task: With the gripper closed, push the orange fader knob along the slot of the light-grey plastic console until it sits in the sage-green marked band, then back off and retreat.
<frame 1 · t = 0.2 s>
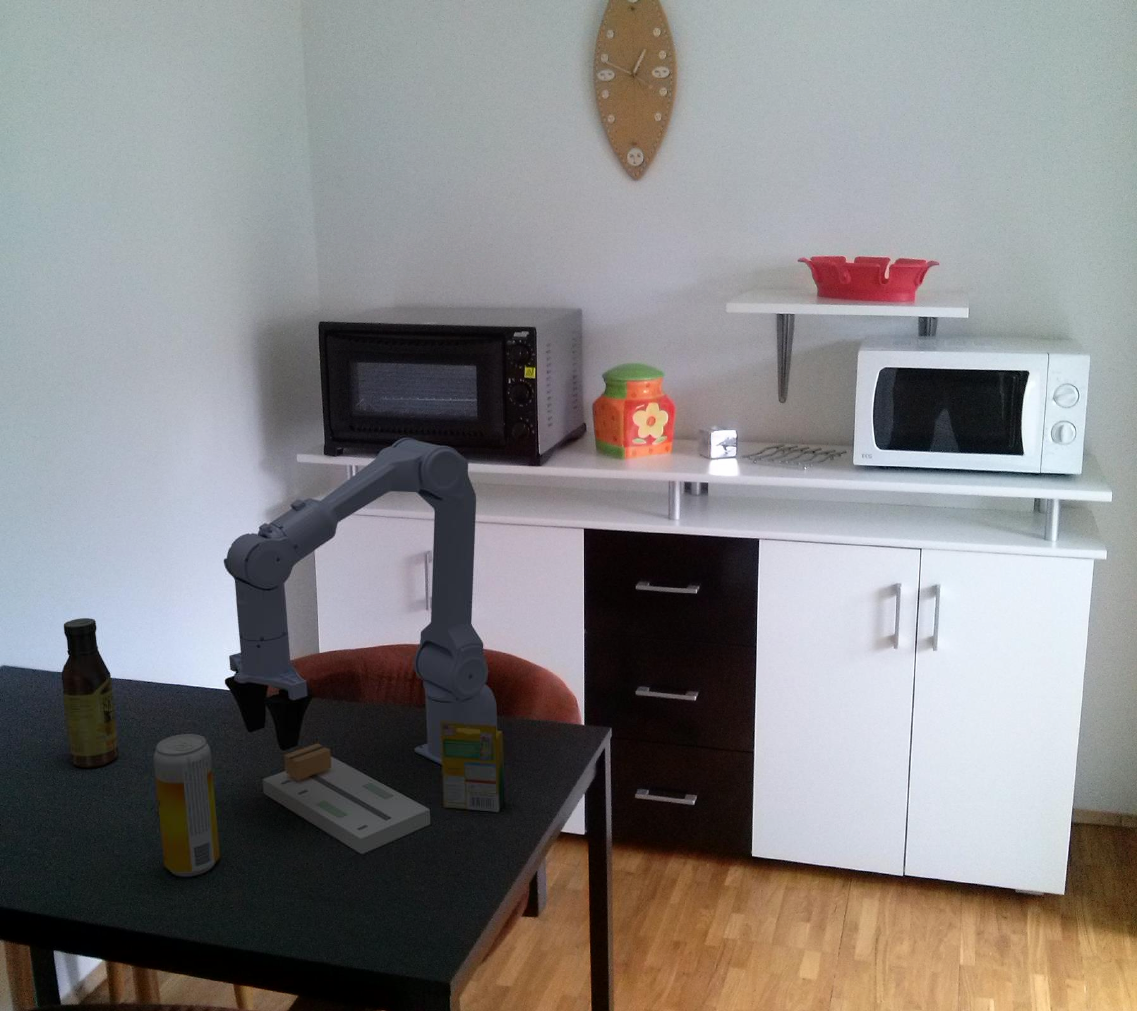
hand: (272, 738, 146), 10 cm above the table, tool pointing down, fingers open, 7 cm apart
fader console: (344, 808, 149), on the table
crayon box: (474, 806, 150), on the table
beer can: (192, 866, 136), on the table
sauce bottle: (95, 760, 164), on the table
fader knob: (308, 761, 154), point 4 cm above the table, slide at 0.0 cm
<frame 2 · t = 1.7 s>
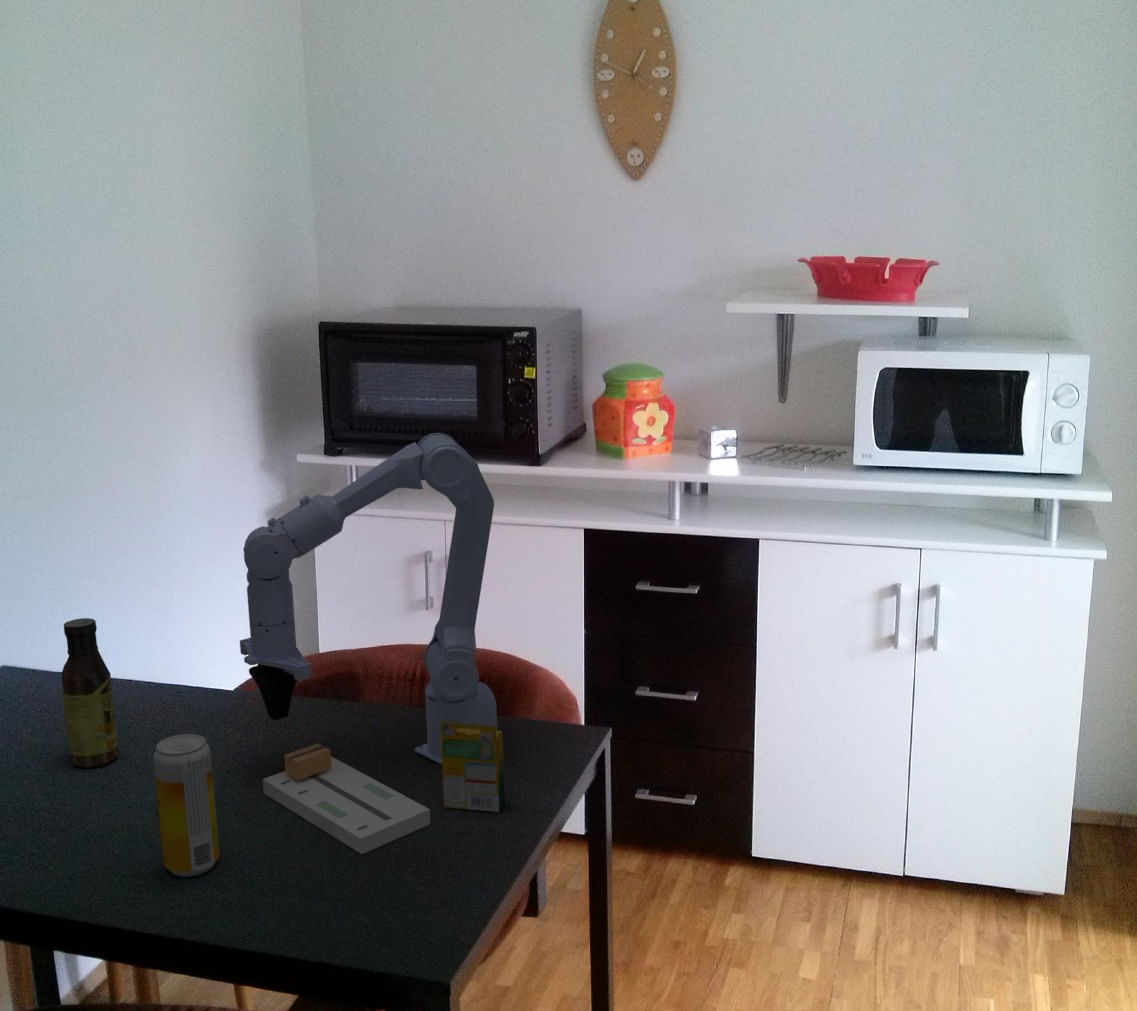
hand: (278, 717, 158), 8 cm above the table, tool pointing down, fingers closed
nothing on the table moved.
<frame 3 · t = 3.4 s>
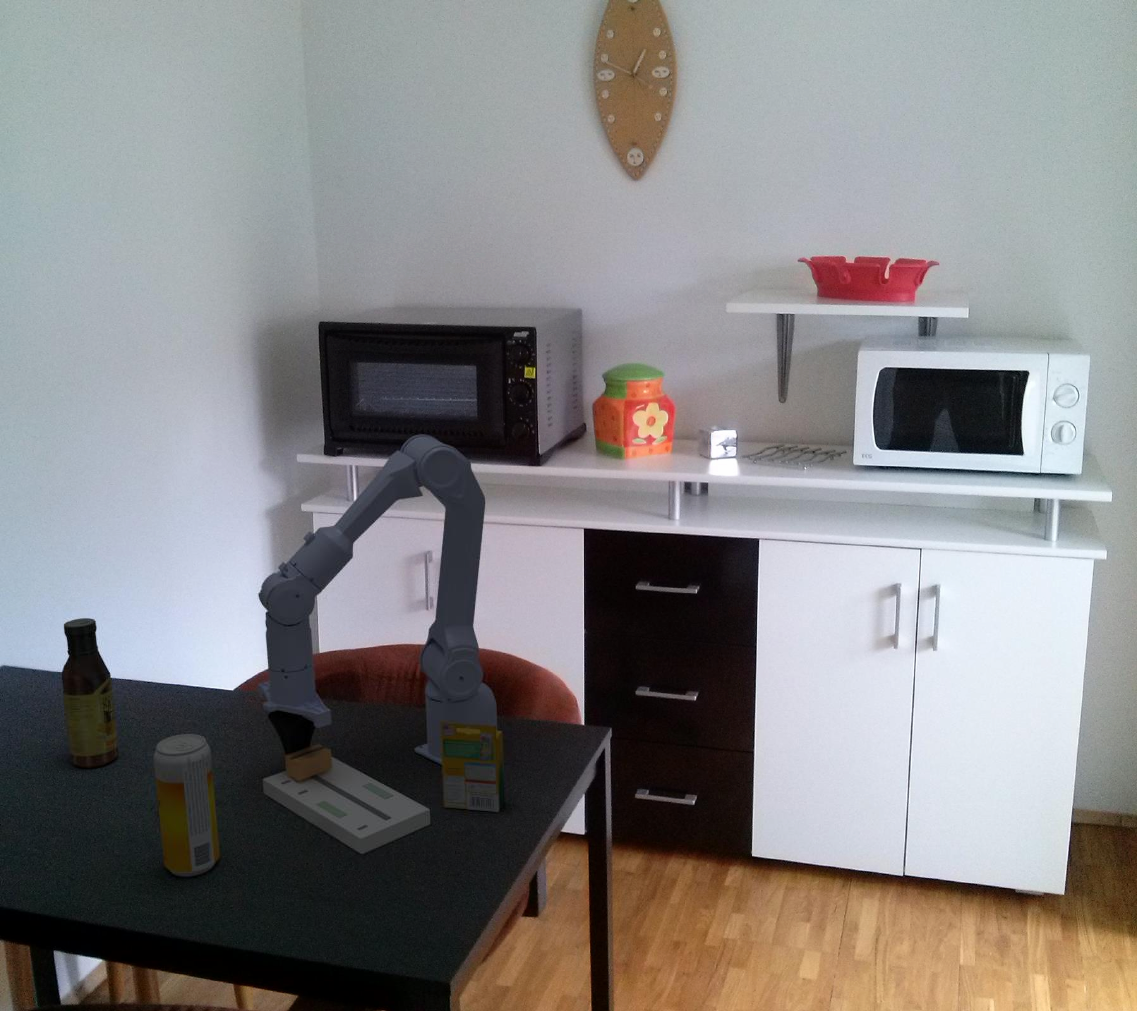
hand: (297, 762, 156), 3 cm above the table, tool pointing down, fingers closed
fader knob: (308, 761, 154), point 4 cm above the table, slide at 0.2 cm, touching gripper
everything else where it was.
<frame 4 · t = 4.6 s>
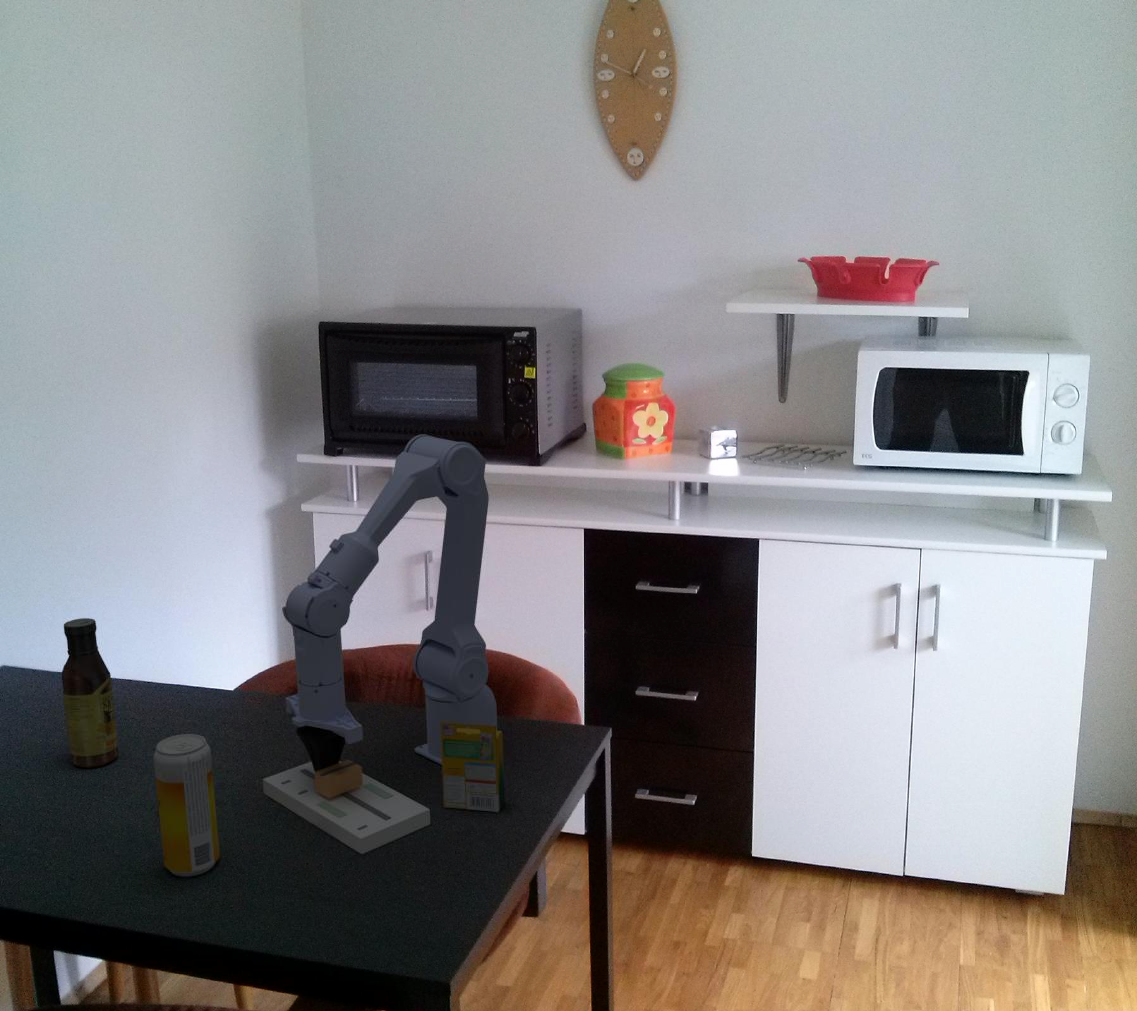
hand: (327, 778, 151), 3 cm above the table, tool pointing down, fingers closed
fader knob: (338, 778, 149), point 4 cm above the table, slide at 7.1 cm, touching gripper
everything else where it was.
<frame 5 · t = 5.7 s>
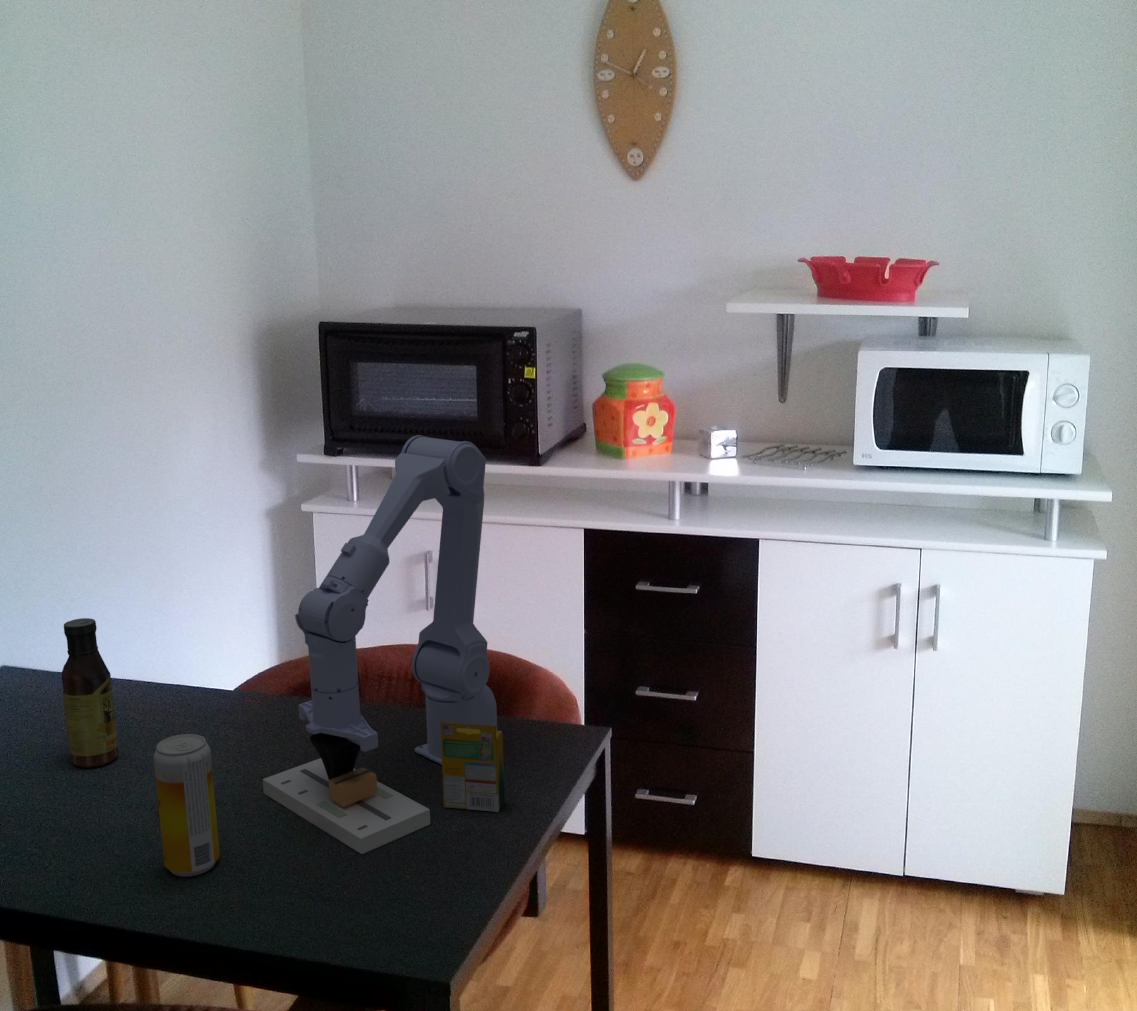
hand: (341, 786, 149), 3 cm above the table, tool pointing down, fingers closed
fader knob: (353, 786, 147), point 4 cm above the table, slide at 10.3 cm, touching gripper
everything else where it was.
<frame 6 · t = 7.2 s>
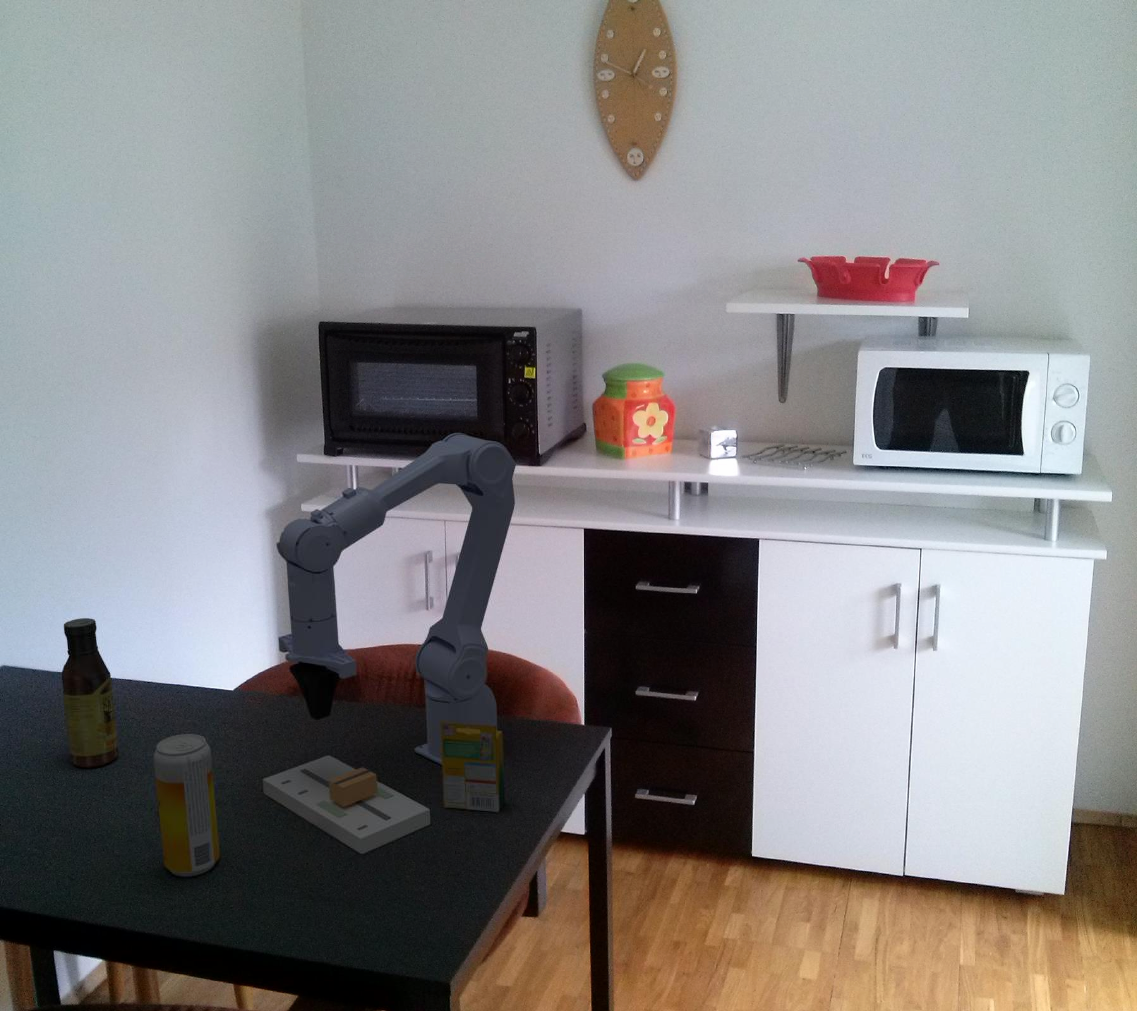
hand: (320, 716, 152), 10 cm above the table, tool pointing down, fingers closed
fader knob: (353, 786, 147), point 4 cm above the table, slide at 10.3 cm
everything else where it was.
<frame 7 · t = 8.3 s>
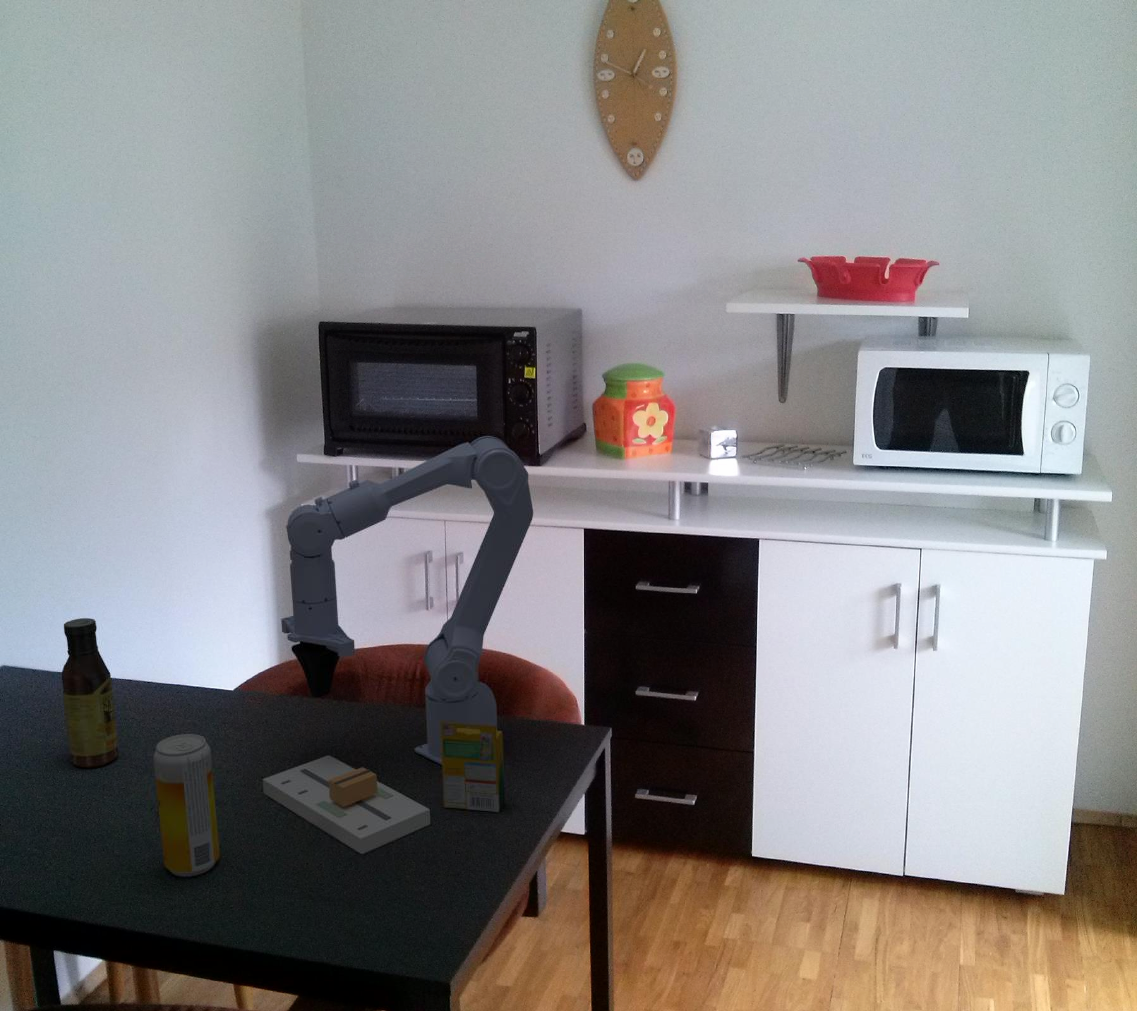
hand: (320, 694, 159), 10 cm above the table, tool pointing down, fingers closed
nothing on the table moved.
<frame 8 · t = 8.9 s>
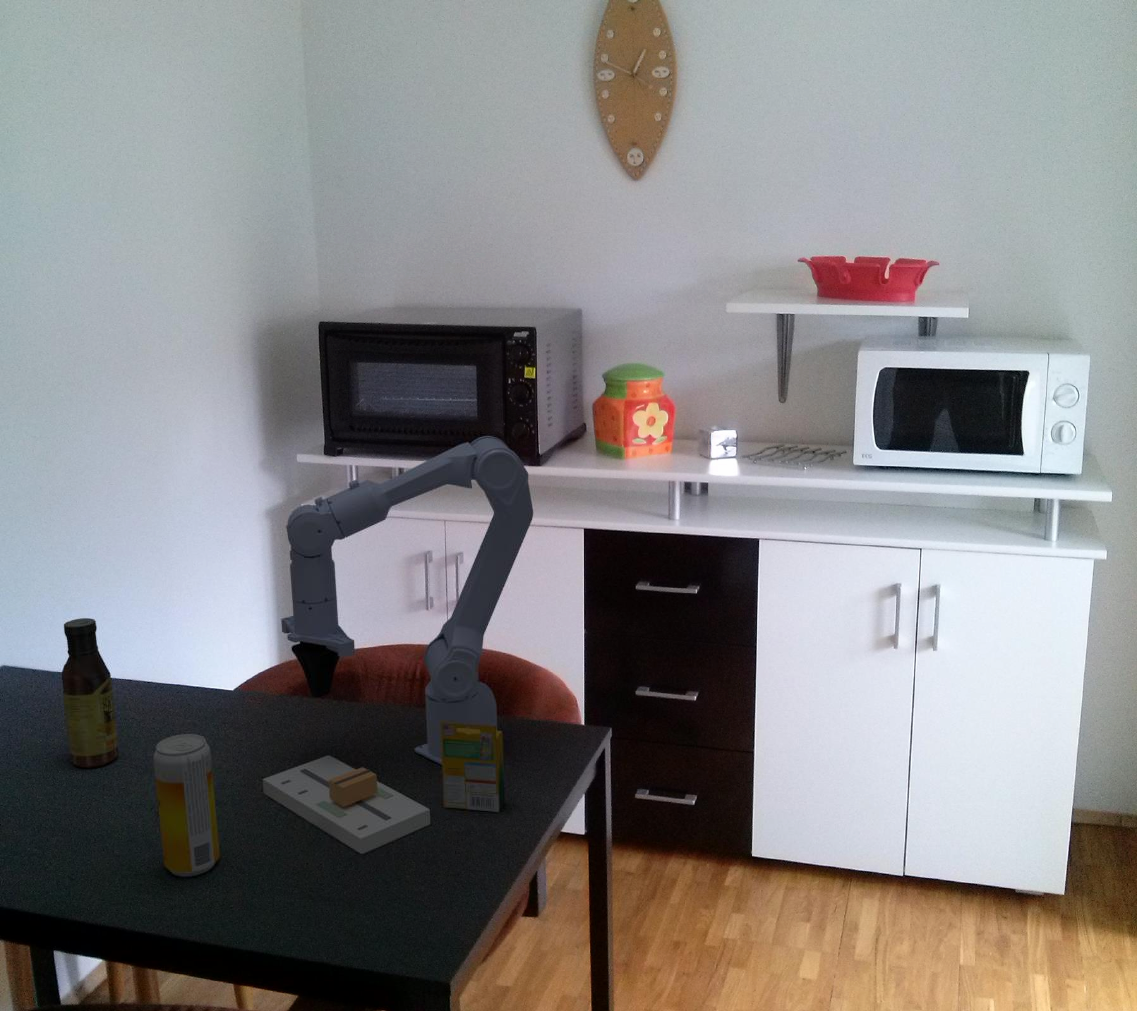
hand: (320, 694, 159), 10 cm above the table, tool pointing down, fingers closed
nothing on the table moved.
at the end: fader knob slide at 10.3 cm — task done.
